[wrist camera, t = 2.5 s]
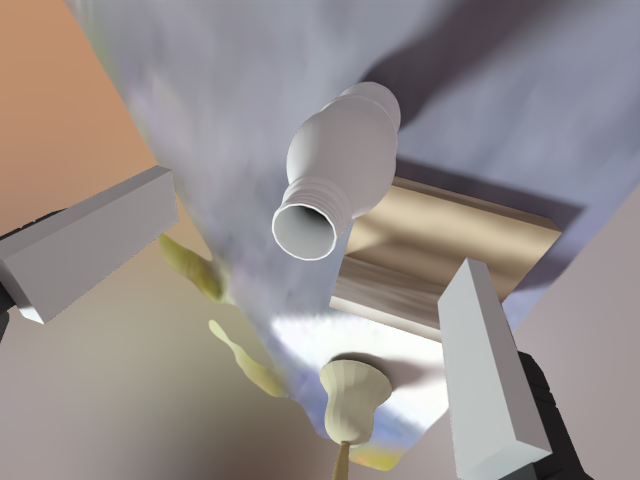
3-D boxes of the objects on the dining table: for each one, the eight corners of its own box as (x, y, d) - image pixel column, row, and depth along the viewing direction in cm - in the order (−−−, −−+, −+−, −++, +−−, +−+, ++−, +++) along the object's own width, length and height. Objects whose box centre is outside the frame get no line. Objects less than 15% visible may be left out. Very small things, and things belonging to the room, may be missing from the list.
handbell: (373, 403, 66) (358, 558, 46) (313, 377, 66) (272, 520, 47) (405, 373, 57) (404, 551, 37) (335, 343, 57) (297, 504, 37)
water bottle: (414, 95, 30) (424, 202, 10) (382, 156, 34) (346, 314, 15) (352, 67, 30) (242, 117, 10) (328, 131, 34) (218, 256, 15)
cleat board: (370, 169, 36) (357, 210, 27) (551, 219, 34) (602, 281, 25) (344, 253, 44) (328, 306, 35) (488, 297, 42) (509, 365, 33)
